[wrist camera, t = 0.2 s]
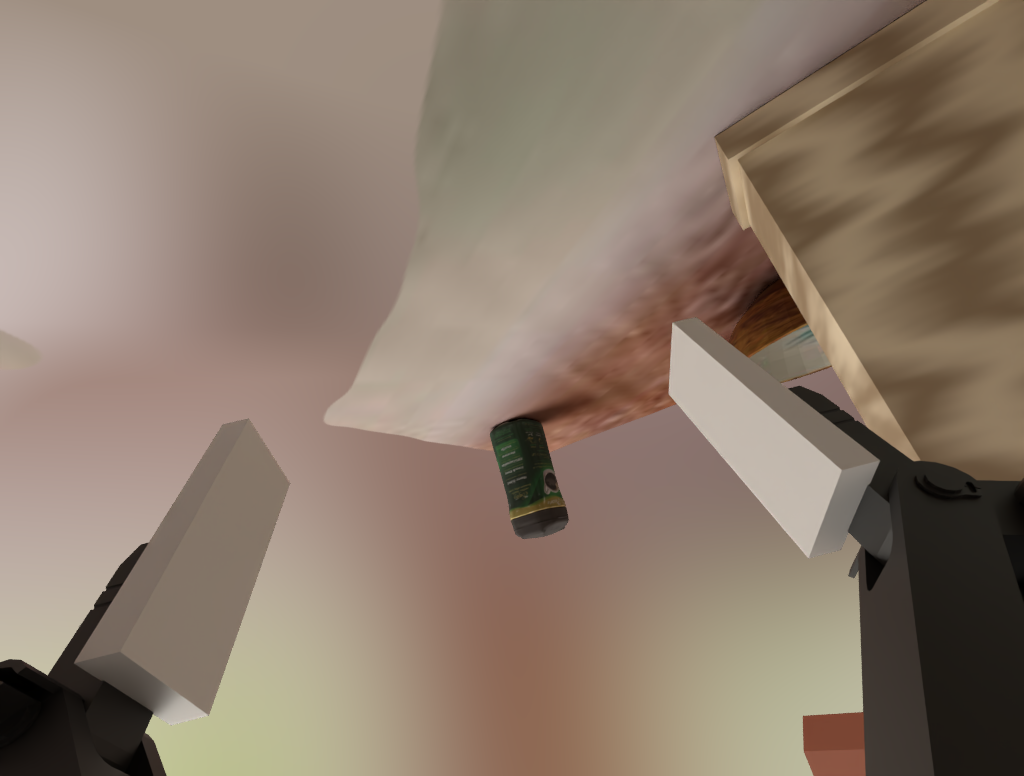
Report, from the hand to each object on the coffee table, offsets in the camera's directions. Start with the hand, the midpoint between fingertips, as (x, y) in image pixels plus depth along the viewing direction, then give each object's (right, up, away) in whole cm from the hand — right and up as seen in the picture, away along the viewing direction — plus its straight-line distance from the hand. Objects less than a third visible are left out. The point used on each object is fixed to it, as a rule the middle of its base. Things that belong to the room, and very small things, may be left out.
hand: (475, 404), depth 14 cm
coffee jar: (+2, -6, +61) cm, 62 cm away
